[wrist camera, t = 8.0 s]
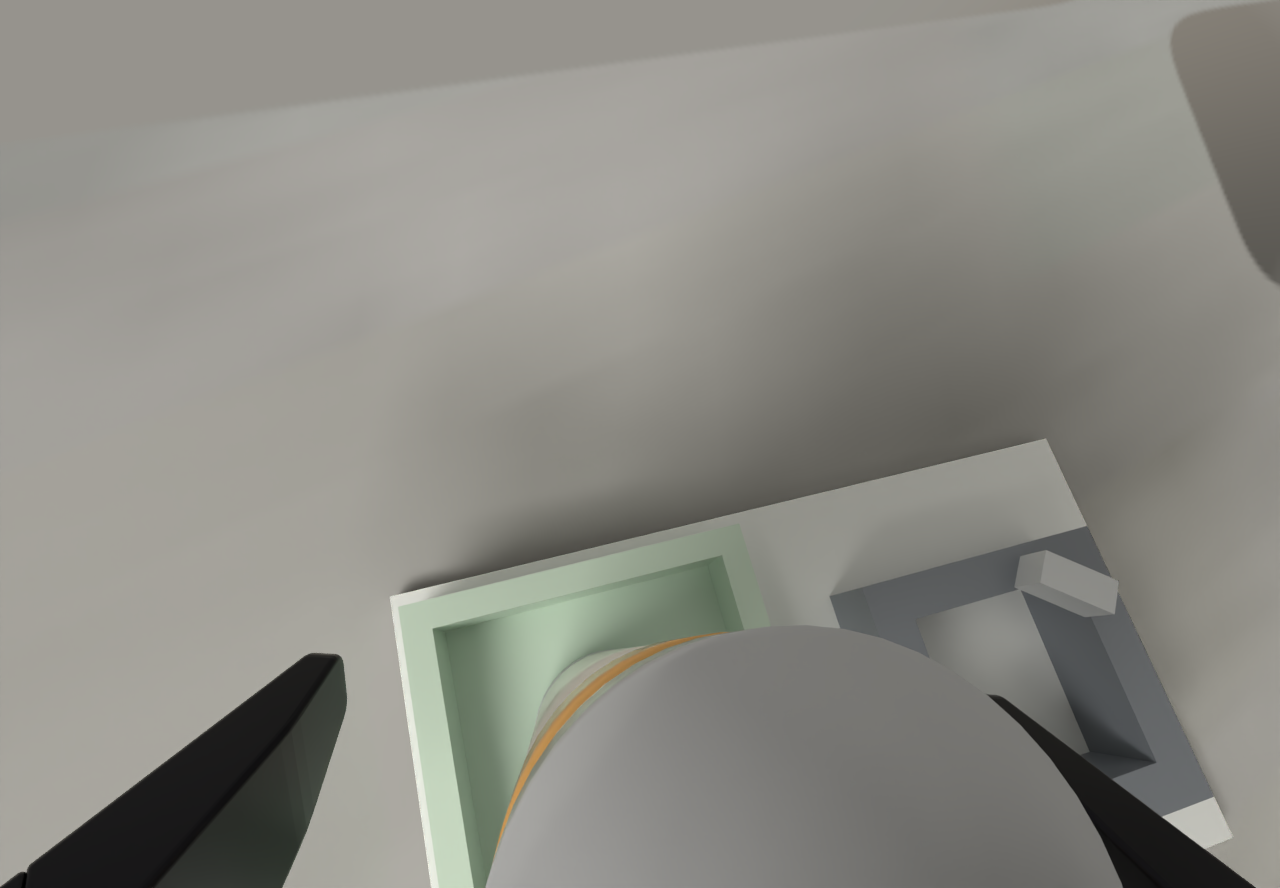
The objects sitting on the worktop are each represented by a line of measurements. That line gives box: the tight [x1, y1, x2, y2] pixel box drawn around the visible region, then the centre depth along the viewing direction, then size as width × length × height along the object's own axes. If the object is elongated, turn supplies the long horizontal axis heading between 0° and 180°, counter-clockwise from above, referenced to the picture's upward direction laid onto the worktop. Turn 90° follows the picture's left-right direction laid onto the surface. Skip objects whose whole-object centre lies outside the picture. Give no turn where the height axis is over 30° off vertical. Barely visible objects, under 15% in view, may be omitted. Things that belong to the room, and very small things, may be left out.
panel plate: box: [390, 439, 1233, 888], centre depth 18 cm, size 21×12×1 cm, turn 105°
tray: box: [398, 524, 771, 888], centre depth 16 cm, size 9×9×3 cm
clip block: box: [829, 526, 1214, 817], centre depth 17 cm, size 7×7×4 cm
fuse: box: [485, 625, 1123, 888], centre depth 10 cm, size 4×4×14 cm
